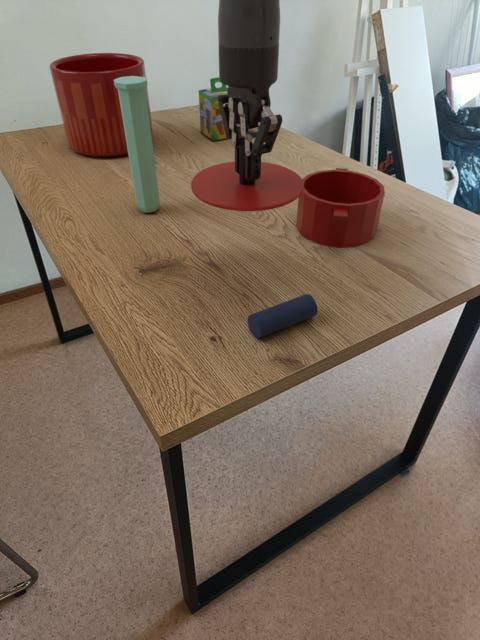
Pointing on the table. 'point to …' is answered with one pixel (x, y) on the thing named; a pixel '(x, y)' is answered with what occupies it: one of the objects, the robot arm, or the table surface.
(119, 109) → the planter
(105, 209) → the table surface
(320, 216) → the pot
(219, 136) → the chalk box
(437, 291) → the table surface
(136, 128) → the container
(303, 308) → the tube
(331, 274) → the table surface
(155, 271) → the table surface
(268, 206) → the pot lid
